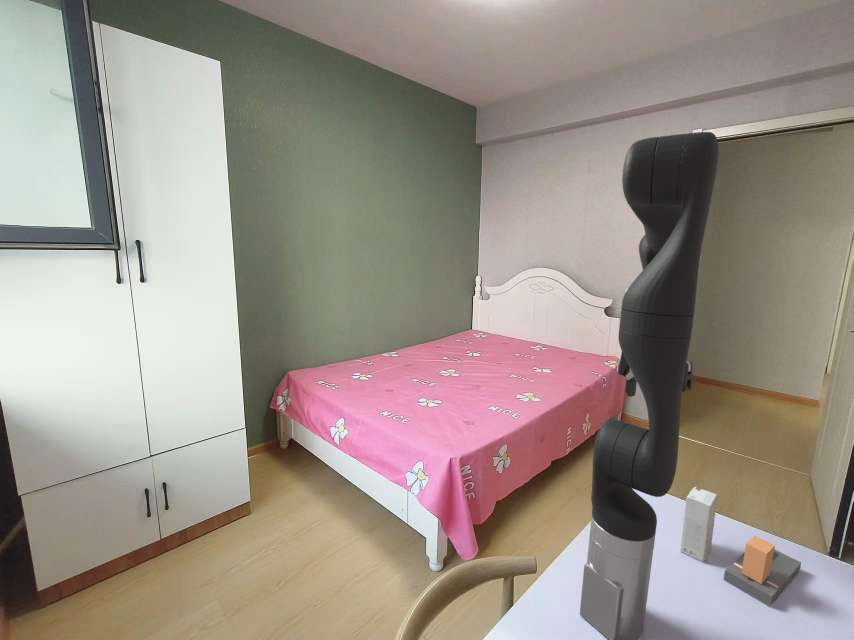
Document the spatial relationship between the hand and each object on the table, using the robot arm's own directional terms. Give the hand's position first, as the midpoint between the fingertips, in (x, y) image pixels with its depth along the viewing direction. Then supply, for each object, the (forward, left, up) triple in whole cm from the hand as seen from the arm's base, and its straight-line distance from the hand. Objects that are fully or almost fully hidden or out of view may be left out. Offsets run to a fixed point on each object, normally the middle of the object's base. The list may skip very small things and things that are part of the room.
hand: (650, 401), depth 88 cm
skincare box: (+1, -12, -28) cm, 31 cm away
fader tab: (+1, -22, -26) cm, 34 cm away
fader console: (+4, -22, -28) cm, 36 cm away
